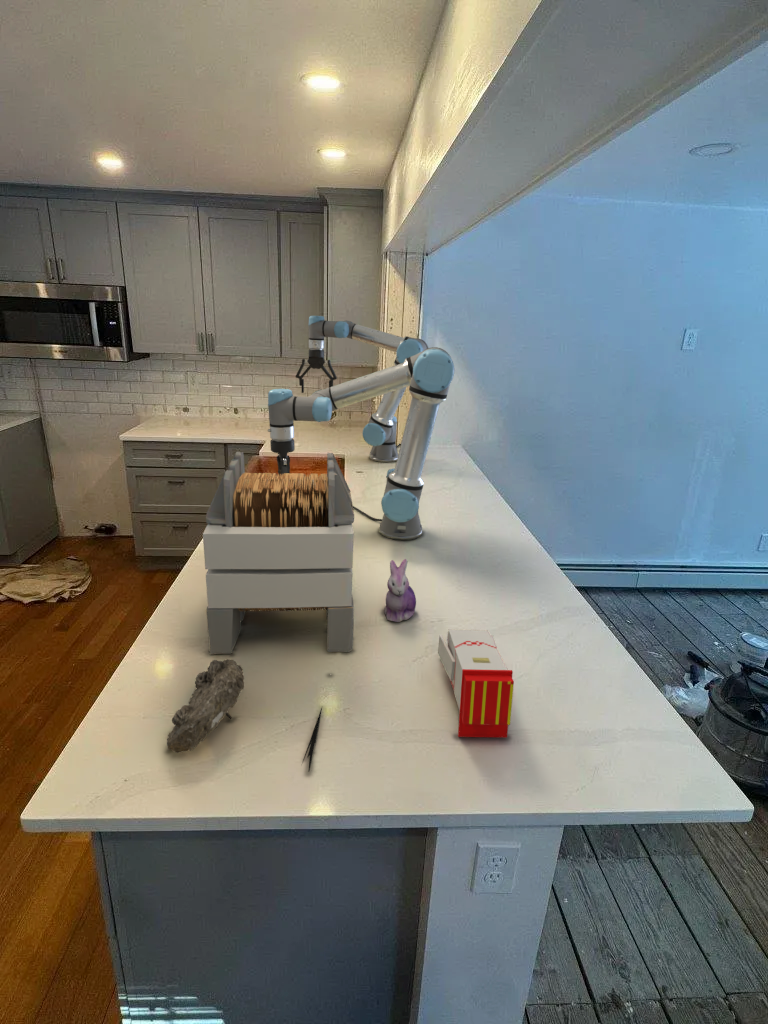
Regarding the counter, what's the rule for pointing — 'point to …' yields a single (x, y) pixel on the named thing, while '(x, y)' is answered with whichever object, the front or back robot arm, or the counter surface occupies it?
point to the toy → (478, 682)
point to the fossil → (206, 705)
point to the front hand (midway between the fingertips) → (285, 502)
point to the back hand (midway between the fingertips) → (316, 393)
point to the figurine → (399, 594)
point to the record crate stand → (279, 550)
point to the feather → (313, 740)
